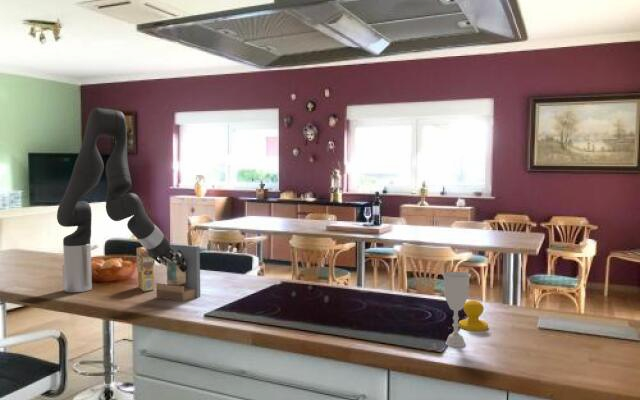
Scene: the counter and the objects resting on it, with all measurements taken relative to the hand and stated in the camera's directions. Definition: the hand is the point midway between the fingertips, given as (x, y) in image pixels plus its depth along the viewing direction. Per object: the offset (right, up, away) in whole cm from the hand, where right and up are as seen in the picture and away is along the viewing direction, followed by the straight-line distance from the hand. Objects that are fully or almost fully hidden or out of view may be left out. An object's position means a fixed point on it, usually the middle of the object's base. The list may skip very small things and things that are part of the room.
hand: (178, 269), depth 186 cm
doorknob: (+94, -12, -36) cm, 101 cm away
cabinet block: (-1, -5, -1) cm, 5 cm away
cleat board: (-1, -10, -1) cm, 10 cm away
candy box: (-16, -9, +13) cm, 23 cm away
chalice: (+85, -13, -51) cm, 100 cm away
